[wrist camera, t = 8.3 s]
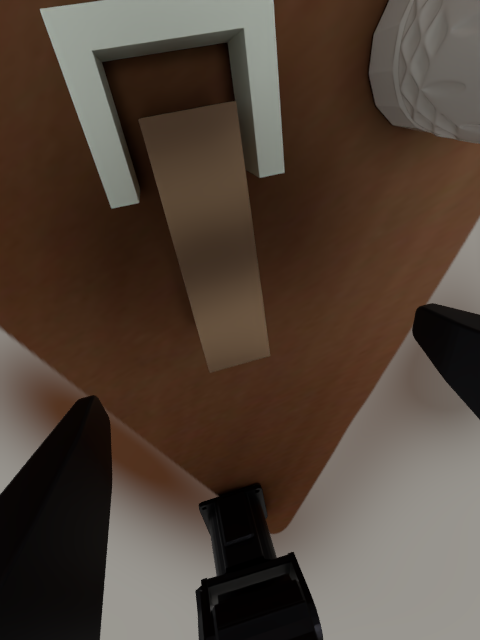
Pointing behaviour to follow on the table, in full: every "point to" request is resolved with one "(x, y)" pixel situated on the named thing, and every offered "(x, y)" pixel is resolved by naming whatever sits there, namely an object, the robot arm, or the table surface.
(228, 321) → the brown wooden block
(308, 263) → the table surface
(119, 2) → the bracket
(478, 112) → the white cup
